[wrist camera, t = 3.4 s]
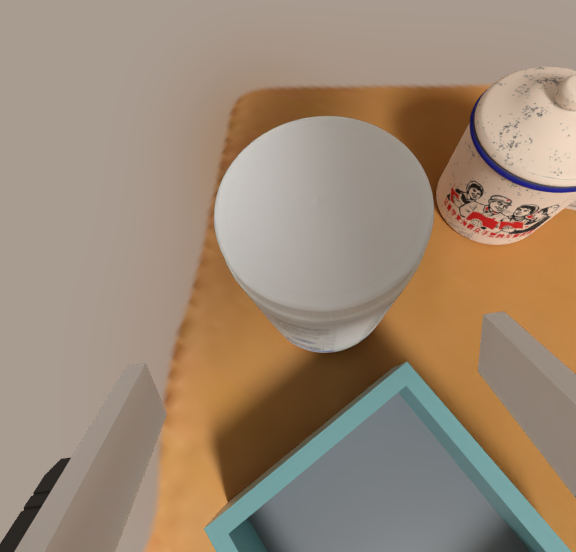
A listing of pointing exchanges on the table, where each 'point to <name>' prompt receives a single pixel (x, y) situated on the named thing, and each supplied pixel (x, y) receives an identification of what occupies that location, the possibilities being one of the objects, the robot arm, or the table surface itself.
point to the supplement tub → (324, 227)
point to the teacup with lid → (514, 158)
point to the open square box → (384, 486)
